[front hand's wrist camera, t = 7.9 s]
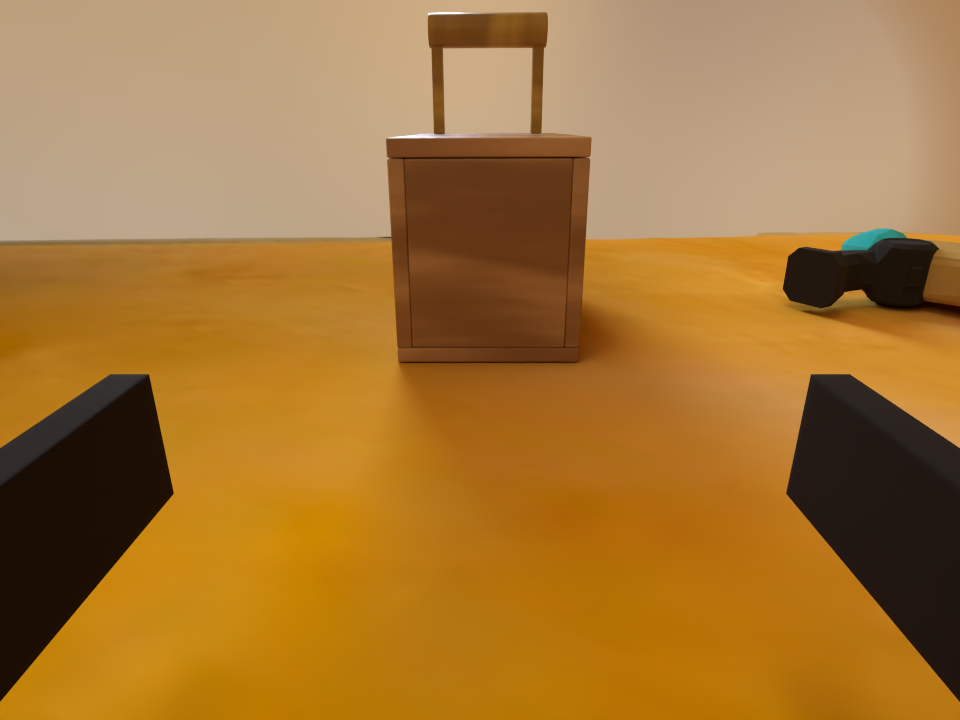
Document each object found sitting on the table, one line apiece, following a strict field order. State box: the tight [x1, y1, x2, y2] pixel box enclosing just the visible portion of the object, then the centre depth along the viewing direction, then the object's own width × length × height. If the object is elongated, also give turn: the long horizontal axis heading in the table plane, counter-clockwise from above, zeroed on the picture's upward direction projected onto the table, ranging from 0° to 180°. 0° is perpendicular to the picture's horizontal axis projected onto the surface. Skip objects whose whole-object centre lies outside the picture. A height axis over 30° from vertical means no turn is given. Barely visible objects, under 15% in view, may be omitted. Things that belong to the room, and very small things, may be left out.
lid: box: [386, 12, 591, 158], centre depth 36 cm, size 17×10×8 cm, turn 179°
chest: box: [387, 157, 590, 362], centre depth 39 cm, size 16×10×10 cm, turn 179°
